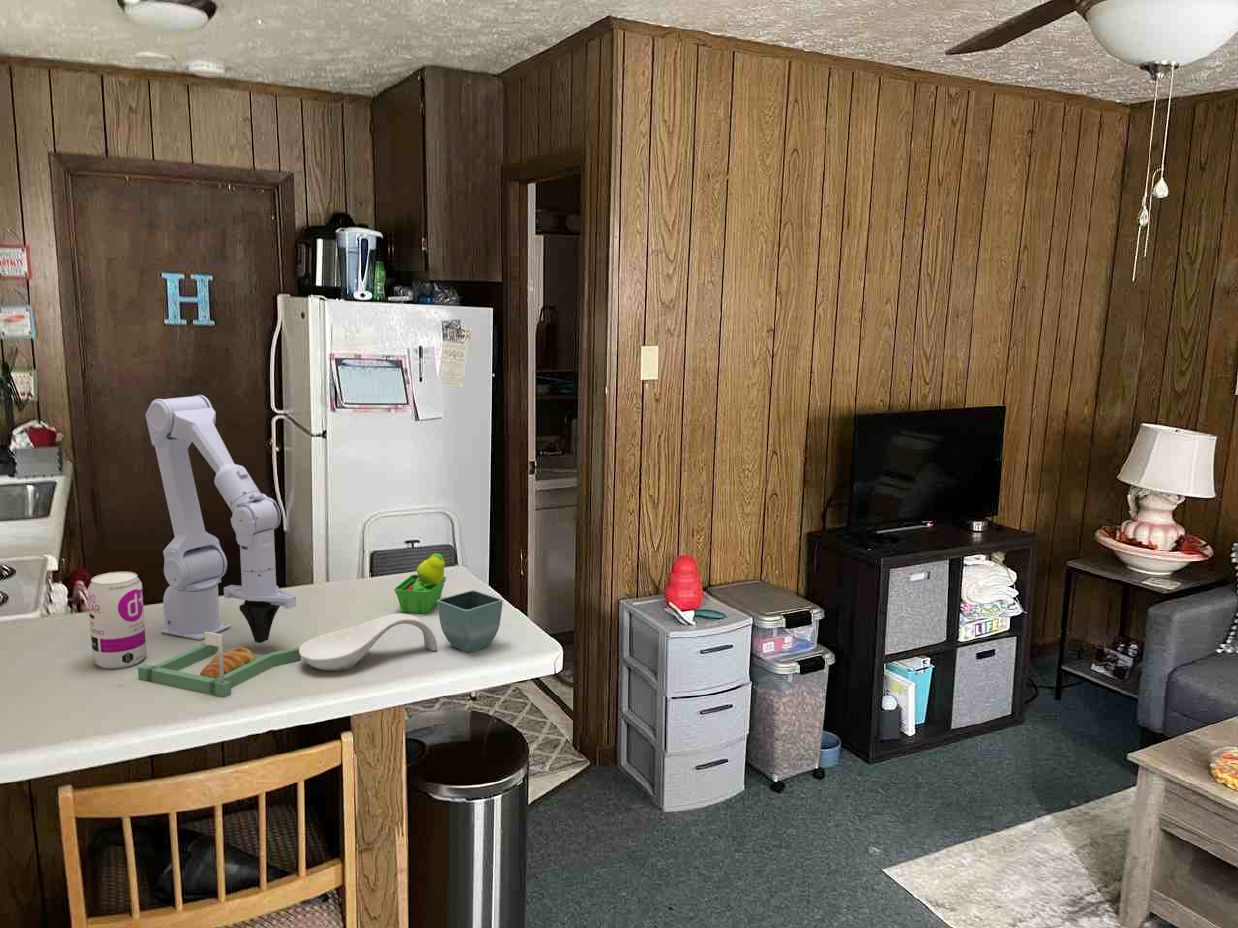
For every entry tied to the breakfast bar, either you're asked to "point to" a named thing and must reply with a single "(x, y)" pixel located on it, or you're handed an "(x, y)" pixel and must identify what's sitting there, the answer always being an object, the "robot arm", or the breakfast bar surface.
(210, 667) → the pastry
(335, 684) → the breakfast bar surface
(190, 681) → the green bars
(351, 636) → the spoon rest
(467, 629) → the flower pot
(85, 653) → the breakfast bar surface
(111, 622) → the supplement can
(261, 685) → the breakfast bar surface
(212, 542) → the robot arm
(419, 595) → the fruit basket
